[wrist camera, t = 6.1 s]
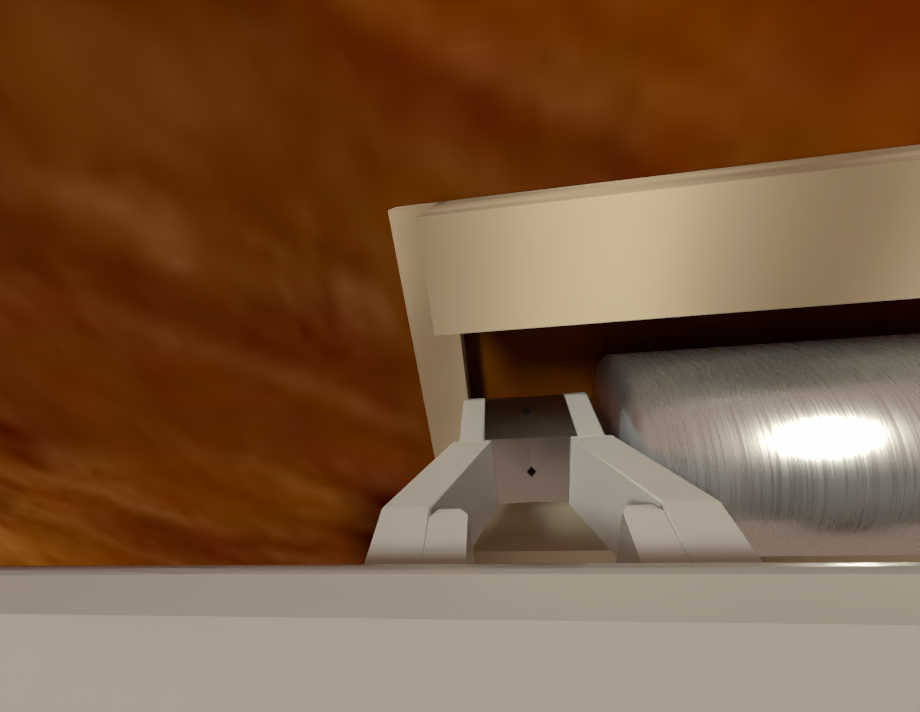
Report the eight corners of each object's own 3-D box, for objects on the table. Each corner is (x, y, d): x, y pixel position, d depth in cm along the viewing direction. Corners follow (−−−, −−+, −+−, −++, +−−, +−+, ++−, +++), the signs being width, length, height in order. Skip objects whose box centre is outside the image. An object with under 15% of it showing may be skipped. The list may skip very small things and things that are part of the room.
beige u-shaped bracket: (1121, 120, 7) (1529, 89, 4) (894, 498, 11) (1020, 600, 9) (396, 206, 8) (353, 225, 6) (450, 509, 13) (440, 597, 10)
